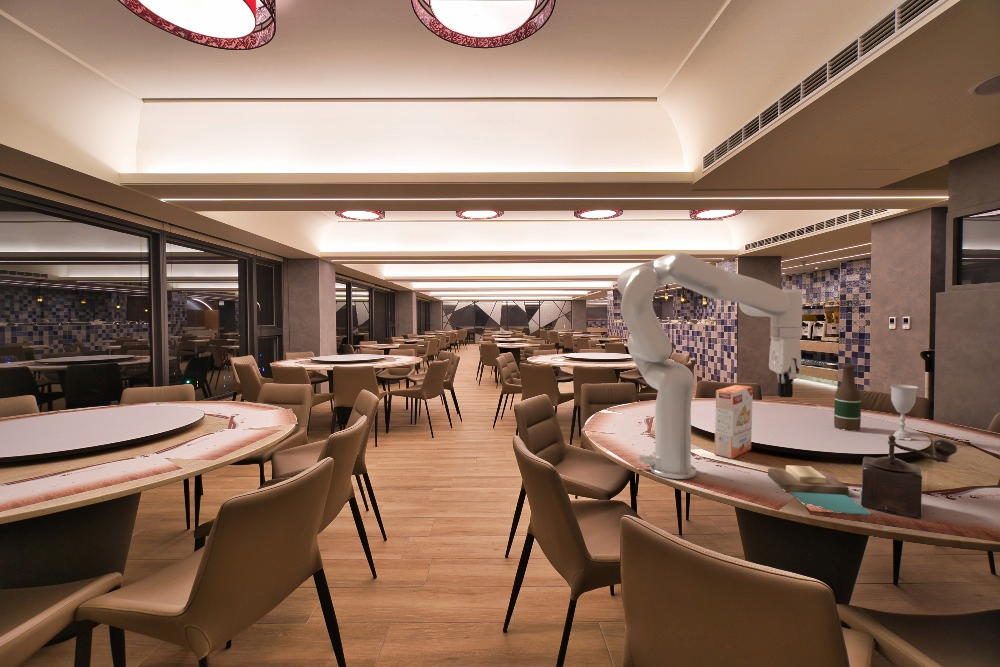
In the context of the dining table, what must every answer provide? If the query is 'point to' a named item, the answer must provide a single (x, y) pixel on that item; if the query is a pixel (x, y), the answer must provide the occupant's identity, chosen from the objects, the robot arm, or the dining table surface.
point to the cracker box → (733, 421)
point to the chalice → (903, 404)
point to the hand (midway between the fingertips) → (785, 396)
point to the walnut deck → (794, 485)
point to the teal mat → (831, 502)
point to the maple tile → (805, 474)
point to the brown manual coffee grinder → (898, 479)
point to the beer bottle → (847, 402)
